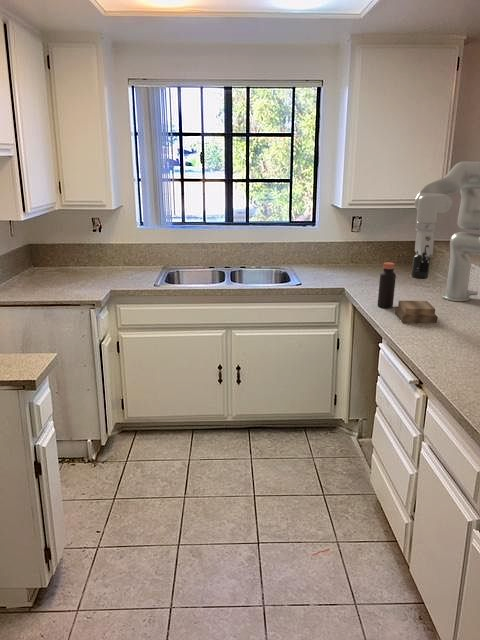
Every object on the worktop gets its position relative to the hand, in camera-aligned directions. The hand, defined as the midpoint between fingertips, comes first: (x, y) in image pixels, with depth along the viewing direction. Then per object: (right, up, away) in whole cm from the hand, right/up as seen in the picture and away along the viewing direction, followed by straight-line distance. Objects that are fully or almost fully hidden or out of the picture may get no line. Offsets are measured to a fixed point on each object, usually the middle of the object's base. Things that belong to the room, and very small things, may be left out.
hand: (420, 269), depth 214 cm
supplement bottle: (0, -3, +1) cm, 3 cm away
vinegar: (-8, -15, +23) cm, 29 cm away
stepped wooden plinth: (0, -20, +6) cm, 21 cm away
